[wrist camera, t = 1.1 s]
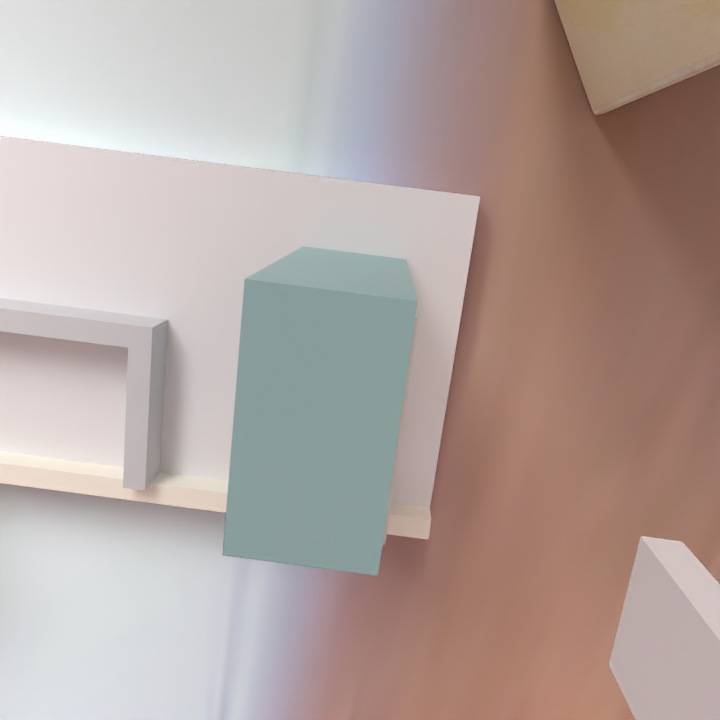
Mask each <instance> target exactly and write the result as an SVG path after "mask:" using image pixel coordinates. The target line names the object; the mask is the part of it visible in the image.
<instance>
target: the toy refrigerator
mask: <svg viewBox="0 0 720 720" xmlns="http://www.w3.org/2000/svg"><path fill="white" fill-rule="evenodd" d="M554 1H555V4H556V7H557V10H558V13H559V16H560V19H561V22H562V25H563V28H564V31H565V33H566V36H567V39H568V42H569V45H570V48H571V51H572V54H573V57H574V60H575V63H576V66H577V69H578V72H579V75H580V78H581V81H582V83H583V86H584V89H585V92H586V95H587V98H588V100H589V103H590V106H591V109H592V111H593V113H594V114H595V115H600V114H604V113H606V112H609V111H611V110H613V109H616V108H618V107H620V106H623V105H625V104H627V103H630V102H632V101H635V100H637V99H639V98H642V97H644V96H647V95H649V94H651V93H654V92H656V91H658V90H661V89H663V88H666V87H668V86H670V85H673V84H675V83H678V82H680V81H682V80H685V79H687V78H690V77H692V76H694V75H697V74H699V73H702V72H704V71H706V70H709V69H711V68H713V67H716V66H718V65H720V0H554Z"/></svg>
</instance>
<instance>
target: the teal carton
mask: <svg viewBox="0 0 720 720" xmlns="http://www.w3.org/2000/svg"><path fill="white" fill-rule="evenodd" d="M417 302H418V301H417V297H416V293H415V290H414V286H413V283H412V279H411V276H410V272H409V268H408V265H407V261H406V259H400V258H392V257H384V256H376V255H368V254H361V253H353V252H345V251H337V250H329V249H321V248H313V247H306V246H303V247H301V248H299V249H297V250H296V251H294V252H292V253H290V254H288V255H287V256H285V257H283V258H281V259H279V260H278V261H276V262H274V263H272V264H270V265H269V266H267V267H265V268H263V269H262V270H260V271H258V272H256V273H254V274H253V275H251V276H249V277H247V278H245V279H244V292H243V305H242V317H241V330H240V342H239V355H238V367H237V380H236V393H235V405H234V418H233V430H232V443H231V455H230V468H229V481H228V493H227V506H226V518H225V531H224V543H223V555H225V556H232V557H240V558H247V559H255V560H263V561H270V562H278V563H285V564H293V565H300V566H308V567H315V568H323V569H330V570H338V571H345V572H353V573H360V574H368V575H375V576H378V571H379V565H380V558H381V551H382V545H385V543H386V537H387V530H388V523H389V516H390V509H391V502H392V495H393V489H394V482H395V475H396V468H397V461H398V454H399V448H400V441H401V434H402V427H403V420H404V413H405V406H406V400H407V393H408V386H409V379H410V372H411V365H412V358H413V352H414V345H415V338H416V331H417V324H418V317H417V313H416V309H417Z"/></svg>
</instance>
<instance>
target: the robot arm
mask: <svg viewBox="0 0 720 720" xmlns="http://www.w3.org/2000/svg"><path fill="white" fill-rule="evenodd" d="M609 666H610V668H611V670H612V672H613V674H614V676H615V678H616V680H617V682H618V685H619V687H620V689H621V691H622V693H623V695H624V697H625V699H626V701H627V704H628V706H629V708H630V710H631V712H632V714H633V716H634V718H635V720H720V584H719V583H718V582H717V581H716V580H715V579H714V577H713V576H712V575H711V574H710V573H709V572H708V571H707V569H706V568H705V567H704V566H703V565H702V564H701V562H700V561H699V560H698V559H697V558H696V557H695V555H694V554H693V553H692V552H691V551H690V550H689V549H688V547H687V546H686V545H685V544H684V543H683V542H682V541H675V540H667V539H660V538H652V537H645V536H641V537H640V541H639V545H638V549H637V553H636V557H635V561H634V565H633V569H632V573H631V577H630V581H629V585H628V590H627V594H626V598H625V602H624V606H623V610H622V614H621V618H620V622H619V626H618V630H617V634H616V638H615V642H614V646H613V650H612V654H611V658H610V662H609Z"/></svg>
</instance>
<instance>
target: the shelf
mask: <svg viewBox="0 0 720 720" xmlns="http://www.w3.org/2000/svg"><path fill="white" fill-rule="evenodd" d="M479 202H480V196H472V195H464V194H456V193H448V192H440V191H432V190H425V189H417V188H409V187H401V186H393V185H385V184H377V183H369V182H361V181H353V180H345V179H337V178H329V177H321V176H313V175H305V174H297V173H289V172H281V171H274V170H266V169H258V168H250V167H242V166H234V165H226V164H218V163H210V162H202V161H194V160H186V159H178V158H170V157H162V156H154V155H146V154H138V153H130V152H122V151H115V150H107V149H99V148H91V147H83V146H75V145H67V144H59V143H51V142H43V141H35V140H27V139H19V138H11V137H3V136H0V483H4V484H11V485H19V486H26V487H34V488H41V489H49V490H56V491H64V492H72V493H79V494H87V495H94V496H102V497H109V498H117V499H125V500H132V501H140V502H147V503H155V504H162V505H170V506H177V507H185V508H193V509H200V510H208V511H215V512H223V513H226V506H227V493H228V481H229V468H230V455H231V443H232V430H233V418H234V405H235V393H236V380H237V367H238V355H239V342H240V330H241V317H242V305H243V292H244V279H245V278H247V277H249V276H251V275H253V274H254V273H256V272H258V271H260V270H262V269H263V268H265V267H267V266H269V265H270V264H272V263H274V262H276V261H278V260H279V259H281V258H283V257H285V256H287V255H288V254H290V253H292V252H294V251H296V250H297V249H299V248H301V247H303V246H306V247H313V248H321V249H329V250H337V251H345V252H353V253H361V254H368V255H376V256H384V257H392V258H400V259H406V261H407V265H408V268H409V272H410V276H411V279H412V283H413V286H414V290H415V293H416V297H417V301H418V302H417V309H416V313H417V317H418V324H417V331H416V338H415V345H414V352H413V358H412V365H411V372H410V379H409V386H408V393H407V400H406V406H405V413H404V420H403V427H402V434H401V441H400V448H399V454H398V461H397V468H396V475H395V482H394V489H393V495H392V502H391V509H390V516H389V523H388V530H387V534H389V535H397V536H404V537H412V538H419V539H427V540H428V538H429V532H430V526H431V513H430V504H431V498H432V492H433V486H434V480H435V473H436V467H437V461H438V455H439V449H440V443H441V436H442V430H443V424H444V418H445V412H446V405H447V399H448V393H449V387H450V381H451V375H452V368H453V362H454V356H455V350H456V344H457V338H458V331H459V325H460V319H461V313H462V307H463V300H464V294H465V288H466V282H467V276H468V270H469V263H470V257H471V251H472V245H473V239H474V232H475V226H476V220H477V214H478V208H479Z"/></svg>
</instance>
